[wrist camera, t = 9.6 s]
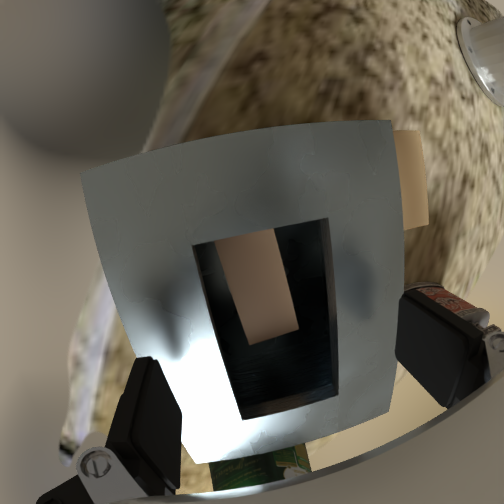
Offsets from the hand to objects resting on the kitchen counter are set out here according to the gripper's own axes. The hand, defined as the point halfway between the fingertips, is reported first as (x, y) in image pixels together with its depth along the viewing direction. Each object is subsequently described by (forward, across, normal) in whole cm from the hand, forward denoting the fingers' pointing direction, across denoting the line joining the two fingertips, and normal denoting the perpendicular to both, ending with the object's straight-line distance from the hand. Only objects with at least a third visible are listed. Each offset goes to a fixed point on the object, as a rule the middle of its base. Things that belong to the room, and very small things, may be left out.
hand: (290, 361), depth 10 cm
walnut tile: (+11, 0, -1) cm, 11 cm away
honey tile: (+12, -10, -5) cm, 16 cm away
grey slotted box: (+12, 0, 0) cm, 12 cm away
